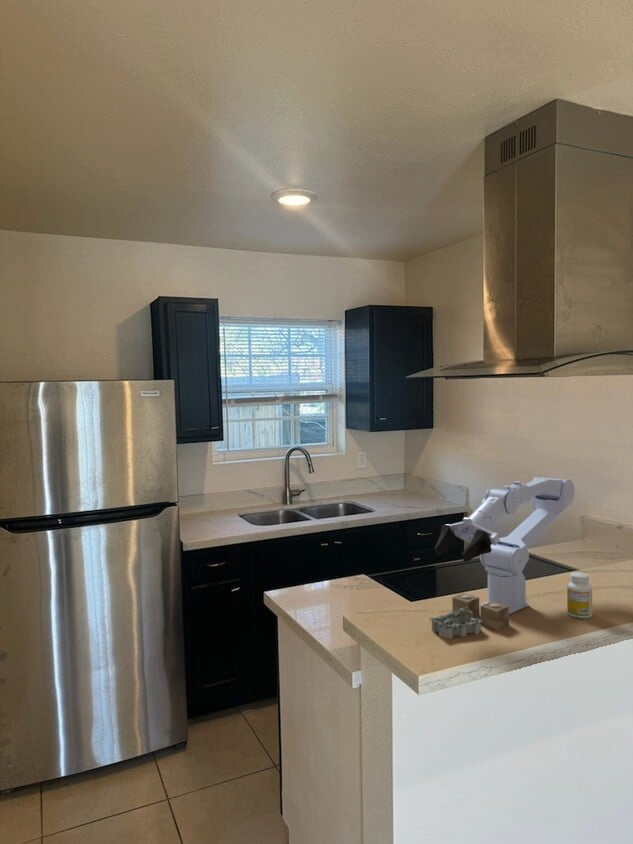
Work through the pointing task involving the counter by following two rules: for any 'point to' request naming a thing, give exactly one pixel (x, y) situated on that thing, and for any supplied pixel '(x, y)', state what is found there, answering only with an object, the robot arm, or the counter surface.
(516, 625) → the counter surface
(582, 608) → the supplement bottle
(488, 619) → the dotted block
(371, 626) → the counter surface
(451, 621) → the egg carton
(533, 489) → the robot arm
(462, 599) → the dotted block
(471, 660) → the counter surface
